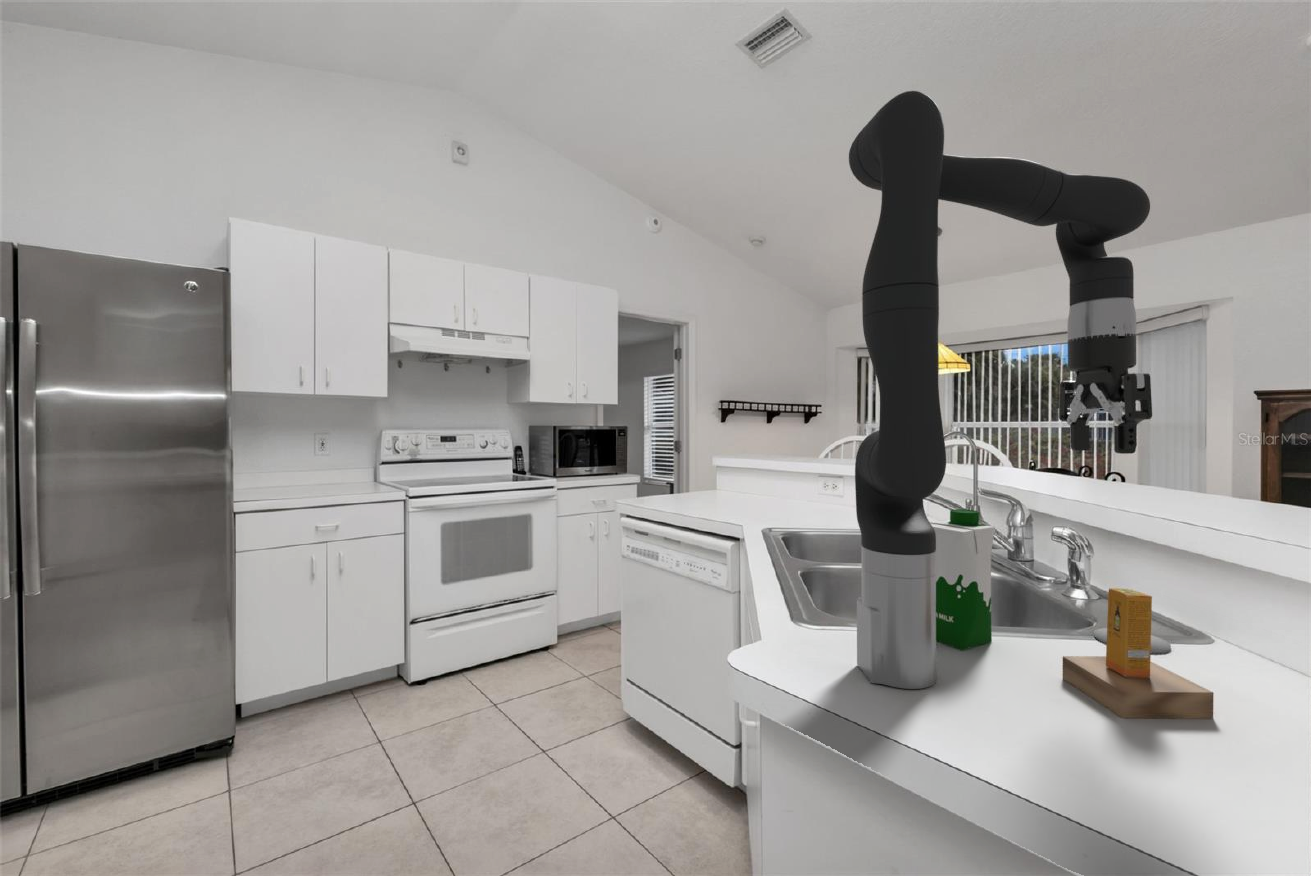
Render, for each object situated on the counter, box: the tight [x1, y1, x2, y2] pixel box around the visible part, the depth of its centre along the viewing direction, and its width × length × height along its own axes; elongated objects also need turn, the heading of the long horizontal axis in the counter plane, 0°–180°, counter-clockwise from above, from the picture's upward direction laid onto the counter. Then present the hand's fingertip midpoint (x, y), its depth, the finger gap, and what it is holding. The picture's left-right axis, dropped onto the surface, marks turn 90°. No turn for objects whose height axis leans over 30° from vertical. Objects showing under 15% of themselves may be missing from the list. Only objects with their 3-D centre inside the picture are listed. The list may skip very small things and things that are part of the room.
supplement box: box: [1105, 587, 1153, 678], centre depth 69 cm, size 3×3×10 cm
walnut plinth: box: [1062, 655, 1214, 720], centre depth 69 cm, size 10×10×3 cm
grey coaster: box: [1093, 627, 1172, 654], centre depth 87 cm, size 9×9×1 cm
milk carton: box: [929, 508, 996, 651], centre depth 88 cm, size 9×9×20 cm
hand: (1101, 451), depth 79 cm, fingers open, 8 cm apart
